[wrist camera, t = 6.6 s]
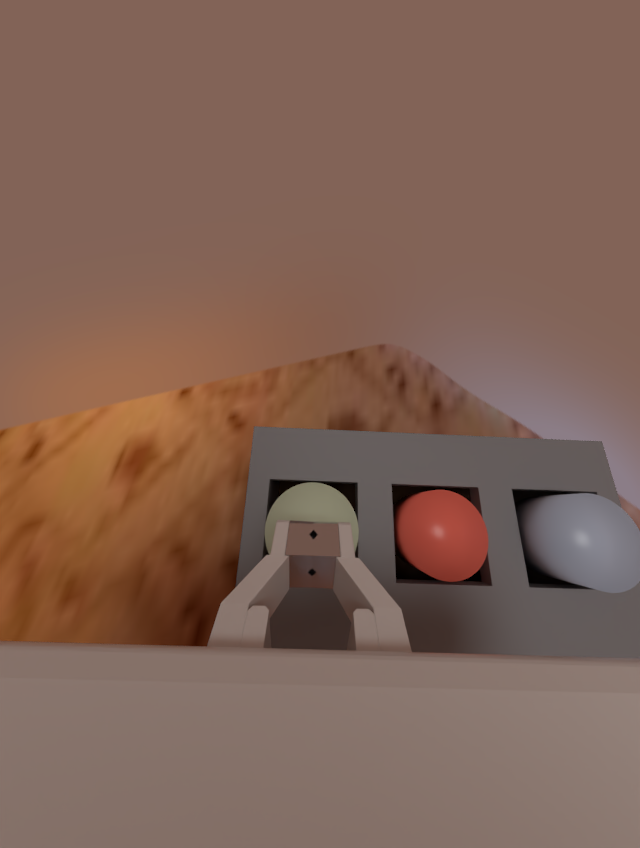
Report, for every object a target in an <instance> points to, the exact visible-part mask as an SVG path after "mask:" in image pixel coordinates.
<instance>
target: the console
mask: <svg viewBox="0 0 640 848" xmlns="http://www.w3.org/2000/svg"><path fill="white" fill-rule="evenodd" d="M279 481H291V482H316V483H342V484H355V514H356V517H357V521H358V528H359V536H358V543H357V547H356V558H359V559H360V560H361V561H362V562H363V563H364V565H365V566H366V567H367V568H368V569H369V571H370V572H371V573H372V574H373V576H374V577H375V578H376V579H377V580H378V582H379V583H380V584H381V585H382V586H383V588H384V589H385V590H386V591H387V593H388V594H389V595H390V596H391V597H392V599H393V600H394V601H395V602H396V603H397V605H398V606H399V607H400V608H401V610H402V614H403V618H404V622H405V627H406V631H407V635H408V639H409V643H410V647H411V651H412V652H427V653H464V654H501V655H538V656H575V657H612V658H640V581H639V583H638V584H637V585H636V586H635V587H633V588H632V589H630V590H627V591H625V592H621V593H608V592H603V591H599V590H596V589H592V588H588V587H585V586H581V585H577V584H574V583H570V582H566V581H563V580H559V579H555V578H552V577H548V576H544V575H541V574H539V573H537V572H535V571H533V570H531V569H530V568H528V567H527V566H526V565H525V560H524V554H523V549H522V543H521V538H520V532H519V527H518V521H517V516H516V510H515V504H516V503H517V502H519V501H520V500H522V499H524V498H527V497H534V496H549V495H563V494H578V493H590V494H596V495H599V496H602V497H605V498H607V499H609V500H611V501H612V502H614V503H615V504H617V505H618V506H619V507H621V504H620V501H619V498H618V494H617V491H616V488H615V484H614V481H613V478H612V474H611V471H610V467H609V464H608V461H607V457H606V454H605V450H604V447H603V444H602V442H600V441H599V442H598V441H576V440H553V439H530V438H507V437H484V436H461V435H438V434H415V433H392V432H369V431H345V430H322V429H299V428H276V427H254V433H253V442H252V451H251V459H250V468H249V476H248V485H247V494H246V502H245V511H244V519H243V528H242V536H241V545H240V554H239V562H238V571H237V579H236V586H237V585H238V584H239V583H240V582H241V581H242V580H243V579H244V578H245V577H246V576H247V575H248V574H249V573H250V572H251V571H252V570H253V568H254V567H255V566H256V565H257V564H258V563H259V562H260V561H261V560H262V559H263V558H264V557H265V556H266V555H269V553H268V550H267V547H266V543H265V524H266V520H267V516H268V514H269V511H270V509H271V507H272V506H273V504H274V502H275V501H276V500H277V499H278V489H279ZM392 486H417V487H443V488H468V489H469V490H470V498H471V503H472V504H473V505H474V506H475V507H476V509H477V510H478V511H479V513H480V515H481V516H482V518H483V520H484V523H485V525H486V528H487V533H488V551H487V555H486V559H485V561H484V563H483V565H482V566H481V568H480V573H481V581H482V582H473V581H457V582H447V581H442V580H412V579H396V567H395V545H394V523H393V502H392ZM350 628H351V621H350V619H349V617H348V616H347V614H346V612H345V610H344V608H343V607H342V605H341V603H340V601H339V600H338V598H337V596H336V594H335V593H334V591H333V589H328V588H312V587H289V590H288V592H287V593H286V595H285V596H284V598H283V599H282V601H281V602H280V604H279V605H278V607H277V608H276V610H275V611H274V613H273V614H272V616H271V617H270V632H271V648H282V649H320V650H347V645H348V639H349V634H350Z"/></svg>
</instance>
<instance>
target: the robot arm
mask: <svg viewBox="0 0 640 848" xmlns="http://www.w3.org/2000/svg"><path fill="white" fill-rule="evenodd" d="M289 587H312V588H328V589H333V591H334V593H335V594H336V596H337V598H338V600H339V601H340V603H341V605H342V607H343V608H344V610H345V612H346V614H347V616H348V617H349V619H350V621H351V628H350V634H349V639H348V645H347V650H320V649H282V648H271V632H270V617H271V616H272V614H273V613H274V611H275V610H276V608H277V607H278V605H279V604H280V602H281V601H282V599H283V598H284V596H285V595H286V593H287V592H288V590H289ZM0 848H640V658H612V657H575V656H538V655H501V654H464V653H427V652H412V651H411V647H410V643H409V639H408V635H407V631H406V627H405V622H404V618H403V614H402V610H401V608H400V607H399V606H398V605H397V603H396V602H395V601H394V600H393V599H392V597H391V596H390V595H389V594H388V593H387V591H386V590H385V589H384V588H383V586H382V585H381V584H380V583H379V582H378V580H377V579H376V578H375V577H374V576H373V574H372V573H371V572H370V571H369V569H368V568H367V567H366V566H365V565H364V563H363V562H362V561H361V560H360V559H359V558H355V552H354V544H353V536H352V528H351V524H350V522H309V521H293V520H290V521H289V520H277V522H276V527H275V532H274V537H273V542H272V548H271V553H270V555H266V556H265V557H264V558H263V559H262V560H261V561H260V562H259V563H258V564H257V565H256V566H255V567H254V568H253V570H252V571H251V572H250V573H249V574H248V575H247V576H246V577H245V578H244V579H243V580H242V581H241V582H240V583H239V584H238V585H237V586H236V588H235V589H234V590H233V591H232V592H231V593H230V594H229V595H228V596H227V597H226V598H225V599H224V600H223V601H222V602H221V604H220V607H219V610H218V613H217V616H216V619H215V623H214V626H213V629H212V632H211V635H210V638H209V641H208V644H207V646H172V645H135V644H99V643H63V642H28V641H0Z"/></svg>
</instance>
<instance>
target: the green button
mask: <svg viewBox="0 0 640 848" xmlns="http://www.w3.org/2000/svg"><path fill="white" fill-rule="evenodd" d="M277 520H289V521H290V520H293V521H309V522H350V524H351V528H352V536H353V544H354V552H355V551H356V547H357V543H358V536H359V528H358V521H357V517H356V514H355V512H354V509H353V507H352V506H351V504H350V502H349V501H348V500H347V499H346V497H345V496H344V495H343V494H342V493H340V492H339V491H338V490H336V489H335V488H333V487H331V486H328V485H326V484H322V483H316V482H308V483H302V484H299V485H296V486H294V487H291V488H290V489H288V490H287V491H285V492H284V493H283V494H281V495H280V497H279V498H278V499H277V500H276V501H275V502H274V504H273V506H272V507H271V509H270V511H269V514H268V516H267V520H266V524H265V543H266V547H267V550H268V553H269V555H270V553H271V548H272V542H273V537H274V532H275V527H276V522H277Z"/></svg>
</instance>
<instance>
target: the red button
mask: <svg viewBox="0 0 640 848" xmlns="http://www.w3.org/2000/svg"><path fill="white" fill-rule="evenodd" d="M393 523H394V545H395V553H396V554H397V555H398V556H399V557H400V558H401V559H402V560H403V561H404V562H406V563H407V564H409V565H411V566H413V567H415V568H416V569H418V570H420V571H422V572H424V573H426V574H428V575H429V576H431V577H433V578H436V579H438V580H442V581H447V582H457V581H462V580H465V579H467V578H469V577H471V576H472V575H474V574H475V573H476V572H477V571H478V570H479V569H480V568H481V566H482V565H483V563H484V561H485V559H486V555H487V551H488V533H487V528H486V525H485V523H484V520H483V518H482V516H481V515H480V513H479V511H478V510H477V509H476V507H475V506H474V505H473V504H472V503H471V502H470V501H468V500H467V499H466V498H464V497H463V496H461V495H459V494H457V493H455V492H452V491H448V490H431V491H426V492H420V493H414V494H409V495H406V496H404V497H402V498H401V499H399V500H398V501H397V502H396V503H395V504H394V505H393Z"/></svg>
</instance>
